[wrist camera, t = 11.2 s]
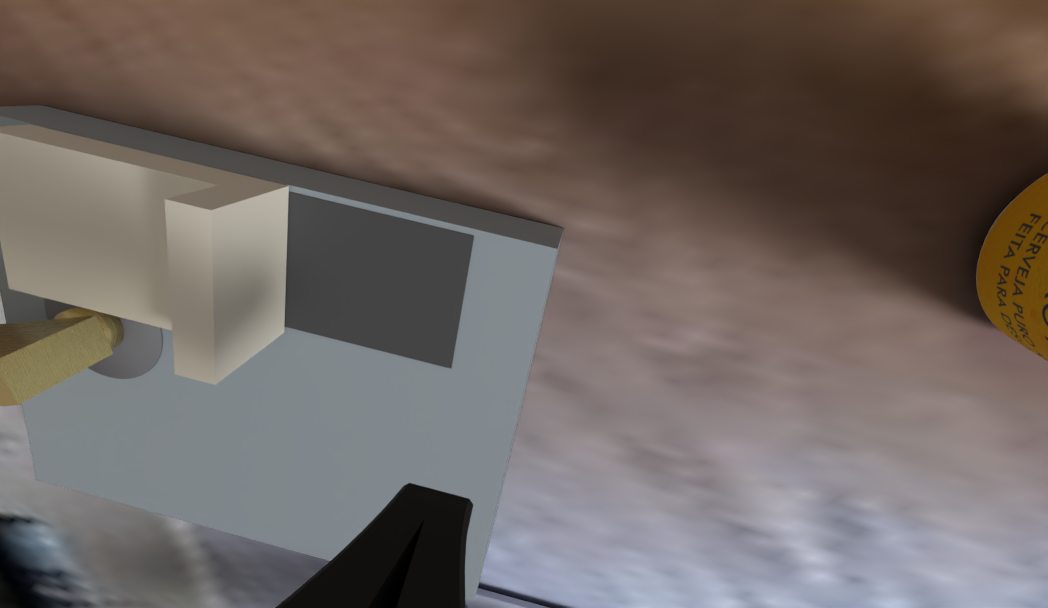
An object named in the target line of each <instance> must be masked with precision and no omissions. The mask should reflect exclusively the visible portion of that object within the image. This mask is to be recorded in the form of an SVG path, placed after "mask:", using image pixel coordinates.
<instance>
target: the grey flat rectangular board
mask: <svg viewBox="0 0 1048 608" xmlns="http://www.w3.org/2000/svg"><path fill="white" fill-rule="evenodd" d="M29 124H31V125H35V126H40V127H44V128H48V129H52V130H56V131H61V132H65V133H69V134H73V135H77V136H82V137H86V138H90V139H94V140H98V141H103V142H107V143H111V144H115V145H119V146H124V147H128V148H132V149H136V150H140V151H144V152H149V153H153V154H157V155H161V156H165V157H170V158H174V159H178V160H182V161H186V162H191V163H195V164H199V165H203V166H207V167H212V168H216V169H220V170H224V171H228V172H233V173H237V174H241V175H245V176H249V177H254V178H258V179H262V180H266V181H270V182H275V183H279V184H283V185H287V186H289V197H288V229H287V260H286V292H285V323H284V333H283V334H282V335H280V336H279V337H278V338H276V339H275V340H274V341H272V342H271V343H270V344H269V345H267V346H266V347H265V348H263V349H262V350H261V351H259V352H258V353H257V354H255V355H254V356H253V357H251V358H250V359H249V360H248V361H246V362H245V363H244V364H242V365H241V366H240V367H238V368H237V369H236V370H234V371H233V372H232V373H230V374H229V375H228V376H227V377H225V378H224V379H223V380H221V381H220V382H219V383H217V384H216V385H213V384H210V383H206V382H202V381H198V380H194V379H190V378H187V377H183V376H179V375H175V369H174V352H173V335H172V330H168V329H164V328H160V327H156V326H152V325H148V324H145V323H141V322H137V321H133V320H129V319H125V318H121V317H119V319H120V321H121V323H122V325H123V329H124V338H123V341H122V342H121V344H120V345H118V346H117V347H115V348H113V349H111V350H112V352H113V354H112V355H110V356H108V357H106V358H104V359H103V360H101V361H99V362H97V363H95V364H93V365H91V366H90V367H88V368H86V369H84V370H82V371H80V372H79V373H77V374H75V375H73V376H71V377H69V378H67V379H66V380H64V381H62V382H60V383H58V384H56V385H55V386H53V387H51V388H49V389H47V390H45V391H43V392H42V393H40V394H38V395H36V396H34V397H32V398H31V399H29V400H27V401H25V402H23V403H22V407H23V412H24V418H25V423H26V428H27V433H28V439H29V444H30V449H31V454H32V459H33V465H34V470H35V475H36V480H38V481H42V482H45V483H49V484H53V485H56V486H60V487H64V488H67V489H71V490H74V491H78V492H82V493H85V494H89V495H93V496H96V497H100V498H103V499H107V500H111V501H114V502H118V503H121V504H125V505H129V506H132V507H136V508H140V509H143V510H147V511H150V512H154V513H158V514H161V515H165V516H169V517H172V518H176V519H179V520H183V521H187V522H190V523H194V524H198V525H201V526H205V527H208V528H212V529H216V530H219V531H223V532H227V533H230V534H234V535H237V536H241V537H245V538H248V539H252V540H255V541H259V542H263V543H266V544H270V545H274V546H277V547H281V548H284V549H288V550H292V551H295V552H299V553H303V554H306V555H310V556H313V557H317V558H321V559H324V560H328V561H331V560H332V559H333V558H334V557H335V556H336V555H337V554H339V553H340V552H341V551H342V550H343V549H344V548H345V547H346V546H347V545H348V544H349V543H350V542H351V541H352V540H353V539H354V538H355V537H356V536H357V535H358V534H360V533H361V532H362V531H363V530H364V529H365V528H366V526H367V525H368V524H369V523H370V522H371V521H372V520H373V519H374V518H375V517H376V516H377V515H378V514H379V513H380V512H381V511H382V510H383V509H384V508H385V507H386V506H387V504H388V503H389V502H390V501H391V500H392V499H393V498H394V496H395V495H396V494H397V493H398V492H399V491H400V489H401V488H402V487H403V486H404V485H406V484H408V483H412V484H416V485H420V486H424V487H427V488H431V489H435V490H439V491H442V492H446V493H450V494H454V495H457V496H461V497H465V498H469V499H470V501H471V502H472V503H473V509H472V514H471V519H470V523H469V528H468V533H467V541H466V556H465V598H466V599H469V600H473V601H474V600H475V596H476V593H477V589H478V585H479V581H480V577H481V573H482V569H483V566H484V562H485V558H486V554H487V550H488V546H489V541H490V537H491V533H492V529H493V525H494V520H495V516H496V512H497V508H498V504H499V499H500V495H501V491H502V487H503V483H504V478H505V474H506V470H507V466H508V462H509V457H510V453H511V449H512V445H513V441H514V436H515V432H516V428H517V424H518V420H519V415H520V411H521V407H522V403H523V399H524V394H525V390H526V386H527V382H528V378H529V373H530V369H531V365H532V361H533V357H534V352H535V348H536V344H537V340H538V336H539V331H540V327H541V323H542V319H543V315H544V310H545V306H546V302H547V298H548V294H549V289H550V285H551V281H552V277H553V273H554V268H555V264H556V260H557V256H558V252H559V247H560V243H561V239H562V235H563V231H564V228H560V227H555V226H551V225H547V224H543V223H538V222H534V221H530V220H526V219H522V218H517V217H513V216H509V215H505V214H500V213H496V212H492V211H488V210H483V209H479V208H475V207H471V206H466V205H462V204H458V203H454V202H449V201H445V200H441V199H437V198H433V197H428V196H424V195H420V194H416V193H411V192H407V191H403V190H399V189H394V188H390V187H386V186H382V185H377V184H373V183H369V182H365V181H361V180H356V179H352V178H348V177H344V176H339V175H335V174H331V173H327V172H322V171H318V170H314V169H310V168H305V167H301V166H297V165H293V164H288V163H284V162H280V161H276V160H272V159H267V158H263V157H259V156H255V155H250V154H246V153H242V152H238V151H233V150H229V149H225V148H221V147H216V146H212V145H208V144H204V143H199V142H195V141H191V140H187V139H183V138H178V137H174V136H170V135H166V134H161V133H157V132H153V131H149V130H144V129H140V128H136V127H132V126H127V125H123V124H119V123H115V122H110V121H106V120H102V119H98V118H94V117H89V116H85V115H81V114H77V113H72V112H68V111H64V110H60V109H55V108H51V107H47V106H43V105H33V106H3V107H0V126H14V125H29ZM0 292H1V298H2V303H3V308H4V313H5V318H6V324H9V323H20V322H30V321H41V320H51V319H54V318H55V316H56V315H57V314H59V313H61V312H63V311H66V310H68V309H71V308H73V307H75V306H74V305H70V304H67V303H63V302H59V301H55V300H51V299H47V298H43V297H39V296H35V295H31V294H28V293H24V292H20V291H16V290H12V289H9V286H8V281H7V275H6V270H5V264H4V259H3V254H2V248H1V243H0Z"/></svg>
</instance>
